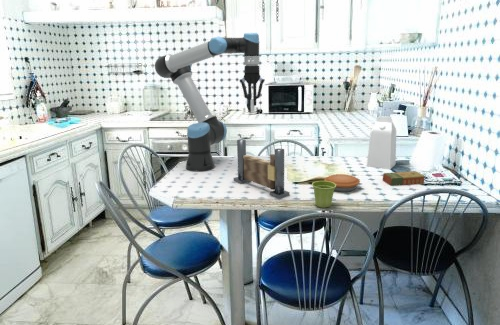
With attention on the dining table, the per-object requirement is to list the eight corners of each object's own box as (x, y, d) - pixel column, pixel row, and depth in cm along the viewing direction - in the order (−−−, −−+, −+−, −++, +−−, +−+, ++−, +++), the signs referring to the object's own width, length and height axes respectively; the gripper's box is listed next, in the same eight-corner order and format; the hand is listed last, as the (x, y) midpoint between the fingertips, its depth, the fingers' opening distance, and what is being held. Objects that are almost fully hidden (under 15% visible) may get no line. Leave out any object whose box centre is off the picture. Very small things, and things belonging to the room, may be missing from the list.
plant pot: (336, 202, 165) (337, 181, 162) (333, 210, 156) (334, 189, 154) (313, 200, 168) (314, 179, 165) (309, 208, 159) (309, 187, 157)
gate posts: (233, 181, 195) (232, 140, 189) (243, 178, 198) (242, 138, 193) (278, 198, 170) (278, 152, 165) (289, 195, 173) (289, 149, 168)
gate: (243, 179, 191) (242, 147, 187) (247, 177, 192) (247, 146, 189) (273, 190, 174) (273, 156, 171) (278, 188, 176) (278, 155, 172)
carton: (424, 184, 186) (424, 175, 184) (390, 186, 183) (391, 177, 182) (414, 179, 193) (415, 170, 192) (382, 181, 191) (382, 172, 190)
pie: (353, 195, 172) (353, 184, 171) (318, 190, 180) (319, 179, 179) (364, 185, 185) (364, 175, 183) (331, 180, 193) (331, 170, 191)
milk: (395, 164, 218) (399, 115, 211) (389, 169, 209) (393, 119, 202) (373, 161, 224) (375, 114, 218) (366, 166, 215) (369, 117, 208)
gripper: (237, 65, 202) (238, 113, 209) (263, 65, 200) (264, 113, 206) (240, 65, 210) (241, 111, 216) (265, 64, 207) (266, 111, 213)
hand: (252, 112), depth 211 cm, fingers closed
